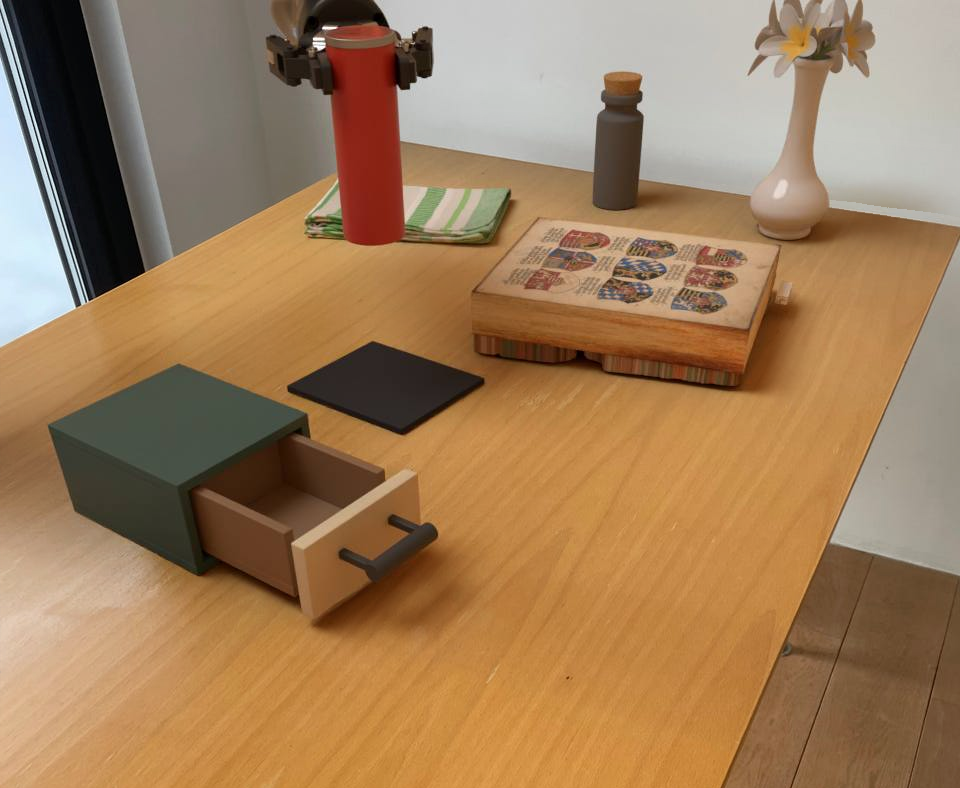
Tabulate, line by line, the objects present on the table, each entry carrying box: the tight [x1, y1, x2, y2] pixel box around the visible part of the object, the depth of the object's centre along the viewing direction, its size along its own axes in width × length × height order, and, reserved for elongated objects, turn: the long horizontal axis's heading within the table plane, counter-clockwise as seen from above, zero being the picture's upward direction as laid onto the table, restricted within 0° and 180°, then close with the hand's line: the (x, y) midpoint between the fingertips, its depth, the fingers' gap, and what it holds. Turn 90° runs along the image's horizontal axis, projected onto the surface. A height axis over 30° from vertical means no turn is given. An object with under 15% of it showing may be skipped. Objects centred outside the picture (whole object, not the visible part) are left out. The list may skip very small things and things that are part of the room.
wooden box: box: [470, 216, 794, 387], centre depth 106 cm, size 25×6×28 cm
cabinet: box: [46, 362, 312, 576], centre depth 80 cm, size 15×13×8 cm
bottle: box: [592, 71, 645, 211], centre depth 132 cm, size 6×6×15 cm
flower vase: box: [747, 0, 876, 241], centre depth 120 cm, size 13×18×25 cm
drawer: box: [188, 432, 439, 620], centre depth 74 cm, size 17×11×6 cm, turn 53°
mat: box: [286, 340, 485, 436], centre depth 97 cm, size 14×12×1 cm
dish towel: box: [303, 178, 512, 245], centre depth 132 cm, size 18×23×3 cm
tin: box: [324, 25, 405, 247], centre depth 83 cm, size 5×5×15 cm
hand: (366, 77), depth 78 cm, fingers closed on tin, 5 cm apart
